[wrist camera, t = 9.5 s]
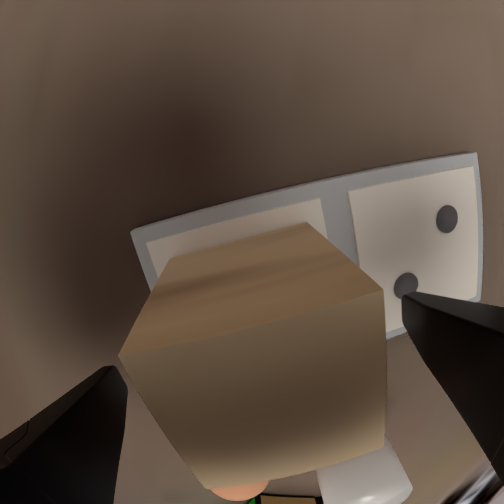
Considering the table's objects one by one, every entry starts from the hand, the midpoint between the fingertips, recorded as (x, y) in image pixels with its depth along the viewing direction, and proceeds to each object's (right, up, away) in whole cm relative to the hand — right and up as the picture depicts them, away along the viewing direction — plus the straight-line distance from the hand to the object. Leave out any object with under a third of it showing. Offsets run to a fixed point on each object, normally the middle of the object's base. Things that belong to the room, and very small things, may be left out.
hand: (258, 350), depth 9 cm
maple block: (0, +1, +3) cm, 3 cm away
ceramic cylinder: (+5, -7, +7) cm, 11 cm away
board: (+3, +2, +4) cm, 6 cm away
